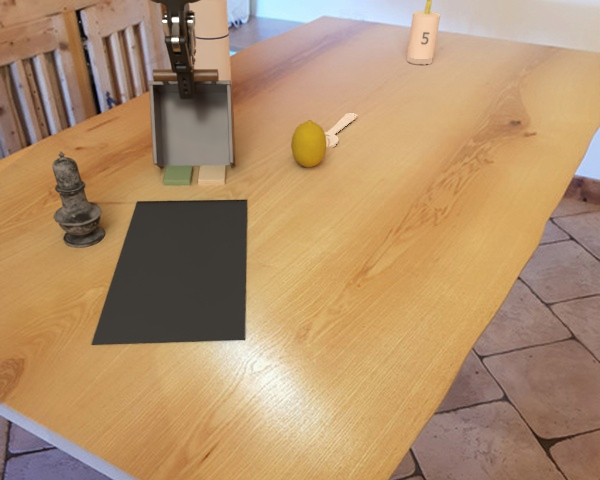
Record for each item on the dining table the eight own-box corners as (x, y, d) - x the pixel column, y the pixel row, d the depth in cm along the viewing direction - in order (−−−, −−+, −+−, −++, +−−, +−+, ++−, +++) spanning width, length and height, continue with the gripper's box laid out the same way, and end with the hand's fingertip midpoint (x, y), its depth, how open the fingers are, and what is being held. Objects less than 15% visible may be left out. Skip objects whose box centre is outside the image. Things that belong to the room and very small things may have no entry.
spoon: (366, 118, 105) (366, 115, 105) (326, 154, 93) (326, 151, 93) (341, 112, 107) (341, 110, 107) (298, 147, 95) (298, 144, 94)
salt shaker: (80, 220, 76) (57, 137, 68) (116, 229, 74) (96, 146, 66) (51, 242, 72) (23, 157, 64) (88, 252, 70) (64, 166, 62)
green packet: (162, 180, 82) (163, 187, 83) (189, 180, 82) (190, 187, 83) (166, 165, 86) (167, 172, 87) (192, 165, 86) (193, 172, 87)
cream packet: (197, 180, 82) (198, 187, 83) (224, 179, 83) (224, 187, 83) (200, 165, 86) (200, 172, 87) (225, 164, 86) (226, 171, 87)
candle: (408, 65, 131) (417, -5, 121) (405, 57, 136) (414, -12, 126) (434, 66, 131) (446, -5, 121) (430, 57, 136) (441, -11, 126)
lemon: (303, 179, 86) (304, 130, 81) (284, 165, 90) (284, 118, 84) (332, 171, 88) (335, 123, 83) (312, 158, 92) (314, 111, 87)
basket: (156, 87, 86) (141, 67, 76) (232, 86, 87) (228, 67, 77) (160, 168, 88) (146, 160, 78) (235, 167, 89) (231, 159, 78)
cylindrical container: (210, 110, 107) (197, -38, 91) (190, 99, 111) (174, -44, 95) (239, 101, 111) (232, -43, 95) (218, 91, 115) (208, -48, 99)
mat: (147, 169, 88) (147, 167, 88) (247, 167, 89) (247, 166, 89) (91, 344, 57) (91, 343, 57) (244, 340, 58) (244, 338, 58)
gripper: (148, -55, 72) (167, 78, 84) (131, -33, 62) (155, 115, 74) (205, -55, 73) (216, 78, 84) (198, -33, 63) (212, 114, 74)
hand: (188, 95), depth 79 cm, fingers closed on basket
